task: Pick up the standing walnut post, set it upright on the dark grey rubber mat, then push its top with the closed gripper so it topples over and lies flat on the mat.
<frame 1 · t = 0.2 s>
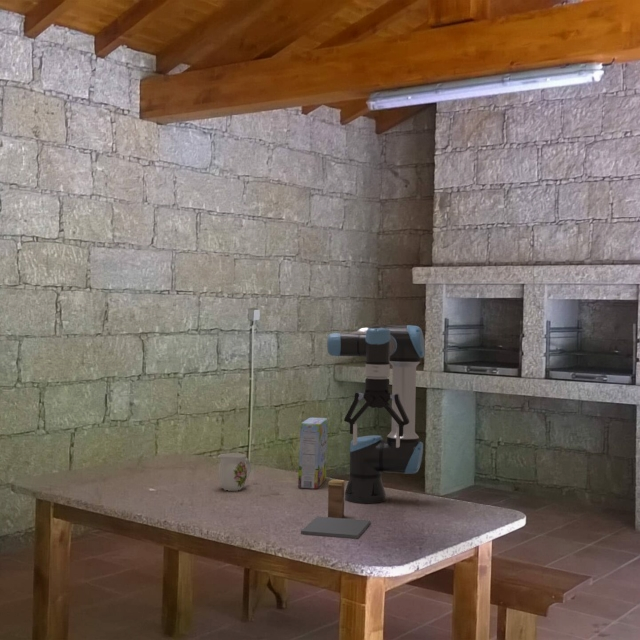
hand: (376, 445, 270), 28 cm above the table, fingers open, 13 cm apart
post: (335, 516, 292), on the table
snack box: (313, 484, 347), on the table
pitcher: (234, 489, 335), on the table
mat: (337, 527, 277), on the table
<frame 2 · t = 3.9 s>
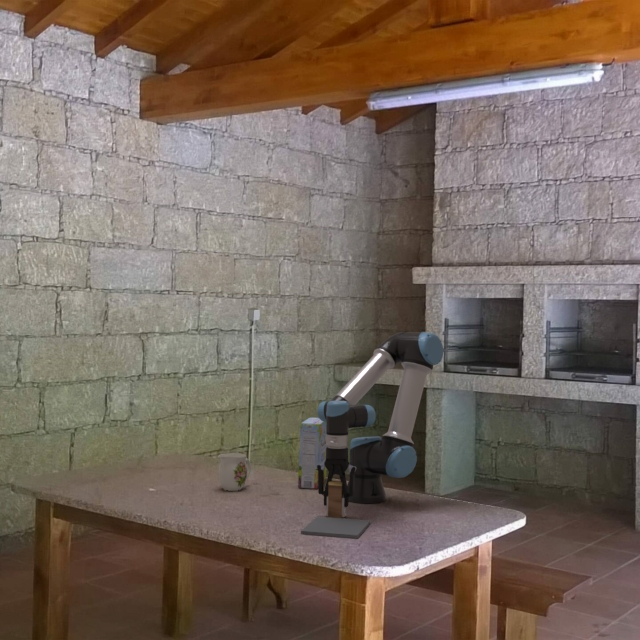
hand: (335, 515, 292), 0 cm above the table, fingers closed on post, 4 cm apart
post: (336, 516, 292), on the table, touching gripper
everything else where it was.
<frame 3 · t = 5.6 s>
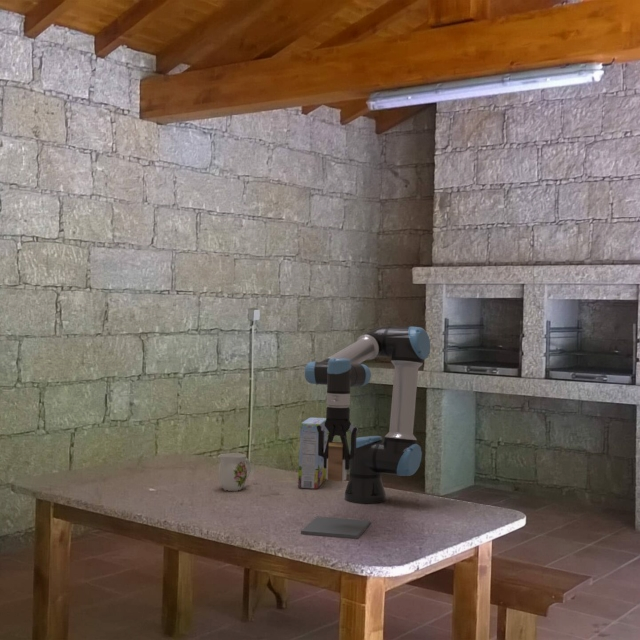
hand: (336, 479, 277), 16 cm above the table, fingers closed on post, 4 cm apart
post: (336, 479, 277), point 15 cm above the table, touching gripper
everything else where it was.
when the fingers open (2 cm above the table, at t = 7.8 s): post drops 1 cm, resting on mat.
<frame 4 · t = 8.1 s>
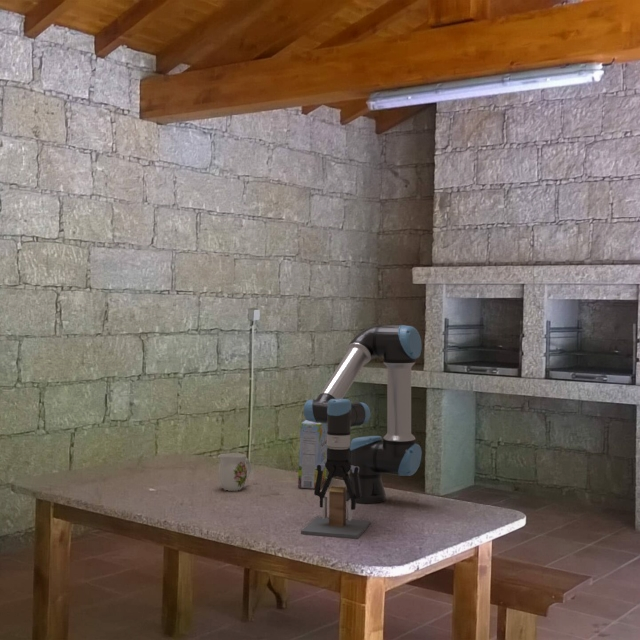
hand: (337, 518, 276), 3 cm above the table, fingers open, 8 cm apart
post: (337, 524, 277), point 1 cm above the table, touching mat
everything else where it was.
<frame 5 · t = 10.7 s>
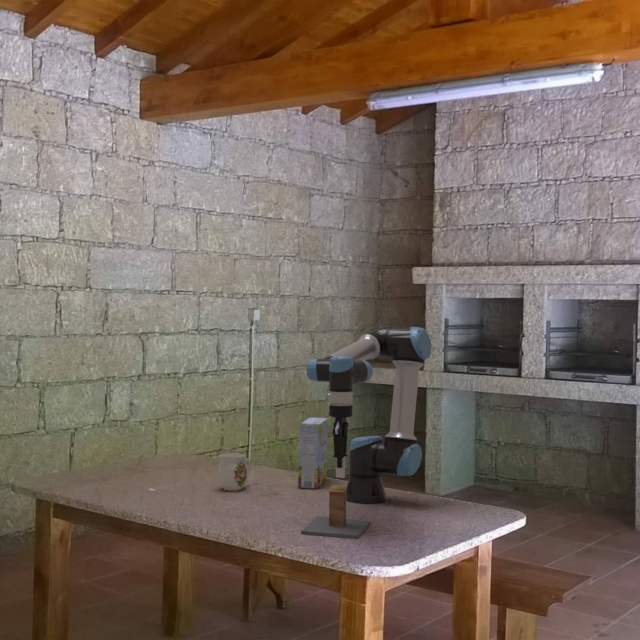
hand: (340, 477, 279), 16 cm above the table, fingers closed
nothing on the table moved.
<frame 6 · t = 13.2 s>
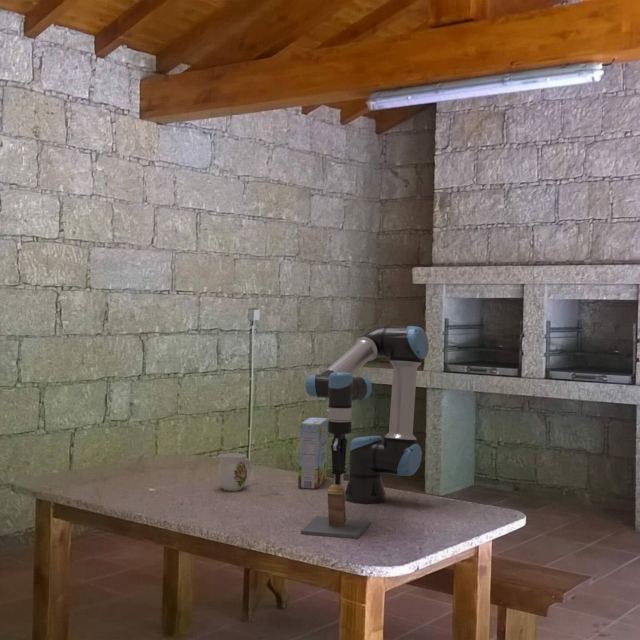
hand: (338, 493, 278), 11 cm above the table, fingers closed
post: (337, 523, 277), point 1 cm above the table, tilted 12°, touching mat
everything else where it was.
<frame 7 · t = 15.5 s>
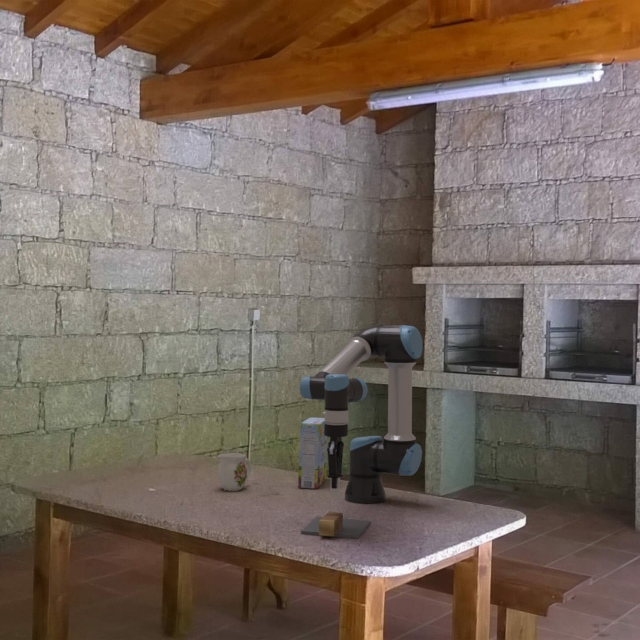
hand: (334, 498, 273), 10 cm above the table, fingers closed
post: (335, 519, 274), point 3 cm above the table, tilted 90°, touching mat
everything else where it was.
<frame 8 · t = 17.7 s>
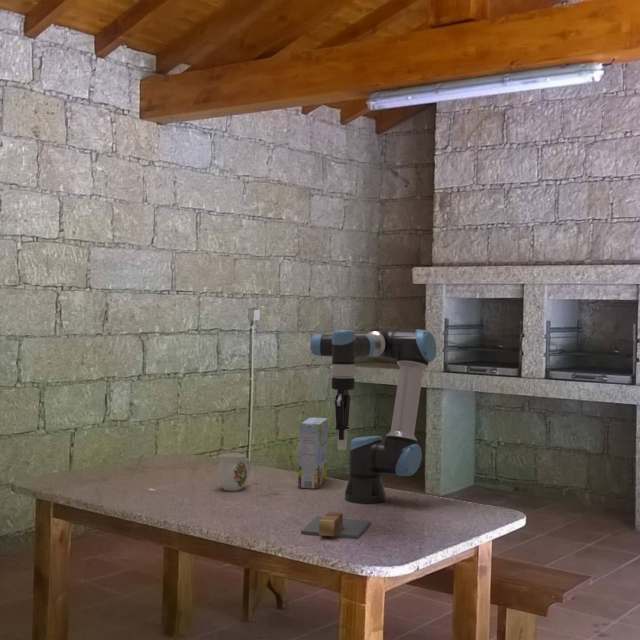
hand: (342, 449, 281), 24 cm above the table, fingers closed
nothing on the table moved.
at the end: post tilted 90°; post inside the target area on the mat (0.8 cm from its centre), point 3.2 cm above the mat's base; the gripper is holding nothing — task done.
